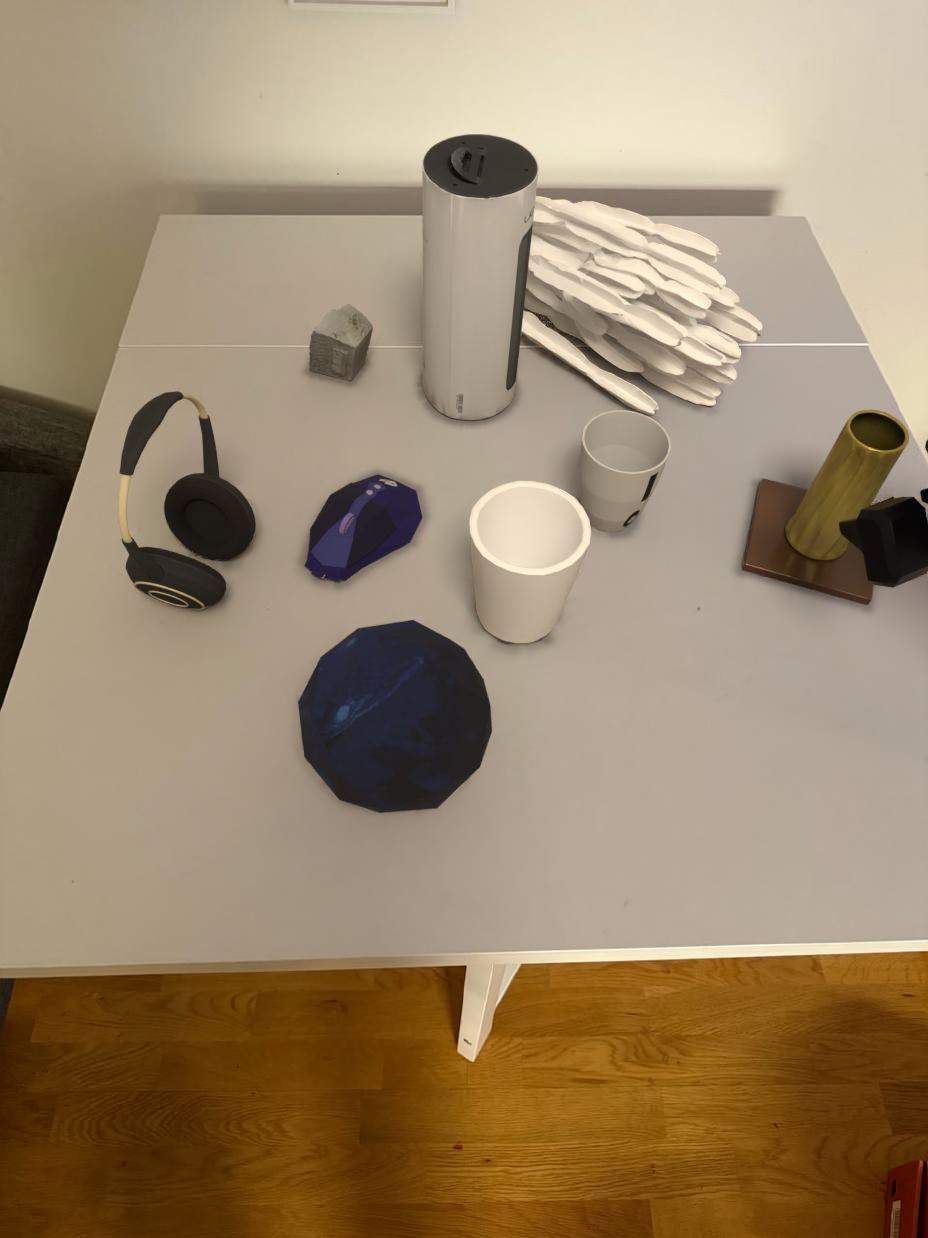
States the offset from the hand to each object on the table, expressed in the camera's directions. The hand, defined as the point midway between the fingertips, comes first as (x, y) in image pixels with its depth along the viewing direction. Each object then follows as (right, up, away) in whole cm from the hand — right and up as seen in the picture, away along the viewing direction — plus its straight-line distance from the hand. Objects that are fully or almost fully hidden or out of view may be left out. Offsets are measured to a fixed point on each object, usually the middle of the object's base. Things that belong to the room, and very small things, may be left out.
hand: (882, 511), depth 76 cm
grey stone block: (-50, +18, +22) cm, 58 cm away
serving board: (-2, -2, +10) cm, 10 cm away
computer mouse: (-47, -1, +9) cm, 48 cm away
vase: (-2, -1, +9) cm, 10 cm away
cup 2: (-22, +1, +11) cm, 25 cm away
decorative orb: (-42, -21, -4) cm, 47 cm away
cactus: (-21, +23, +26) cm, 41 cm away
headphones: (-61, -5, +5) cm, 62 cm away
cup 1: (-32, -9, +4) cm, 33 cm away
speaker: (-36, +16, +21) cm, 45 cm away
